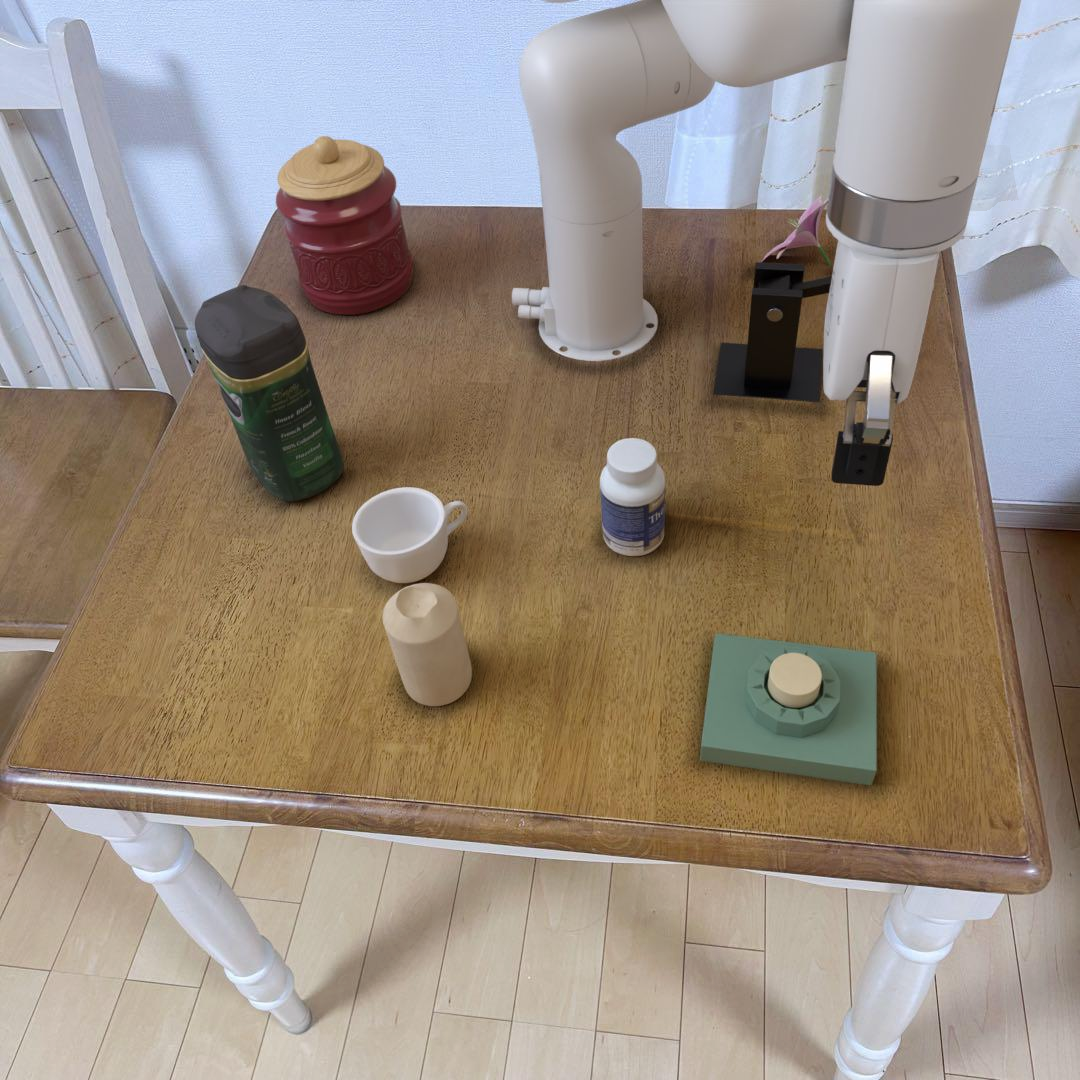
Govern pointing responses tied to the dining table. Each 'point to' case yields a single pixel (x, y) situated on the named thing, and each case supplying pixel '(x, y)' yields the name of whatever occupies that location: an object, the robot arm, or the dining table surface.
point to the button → (794, 680)
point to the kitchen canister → (344, 226)
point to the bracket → (771, 346)
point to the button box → (791, 712)
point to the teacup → (404, 533)
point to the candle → (428, 643)
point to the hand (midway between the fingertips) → (855, 430)
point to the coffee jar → (270, 391)
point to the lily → (805, 230)
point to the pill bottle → (632, 498)
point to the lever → (799, 285)
